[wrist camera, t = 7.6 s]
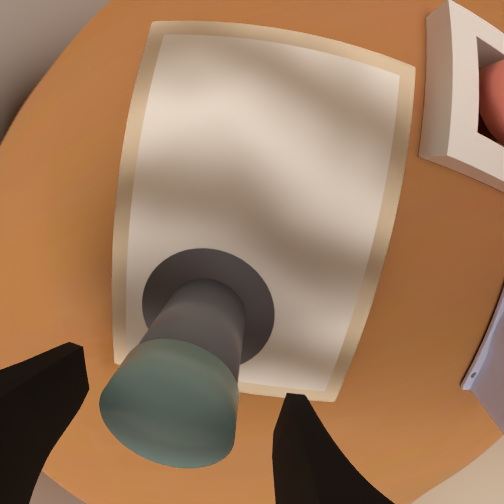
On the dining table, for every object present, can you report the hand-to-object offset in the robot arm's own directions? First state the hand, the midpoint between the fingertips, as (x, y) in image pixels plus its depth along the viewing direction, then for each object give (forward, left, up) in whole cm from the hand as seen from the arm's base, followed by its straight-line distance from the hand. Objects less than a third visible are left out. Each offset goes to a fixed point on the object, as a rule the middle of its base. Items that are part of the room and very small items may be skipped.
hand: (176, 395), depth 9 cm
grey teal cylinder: (0, 0, -6) cm, 6 cm away
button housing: (+15, -14, -8) cm, 22 cm away
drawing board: (+5, -1, -8) cm, 9 cm away
